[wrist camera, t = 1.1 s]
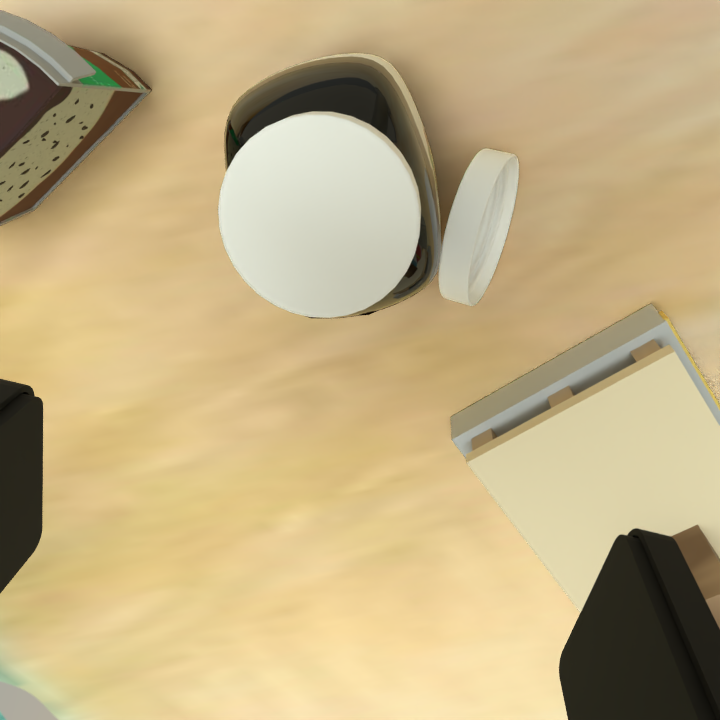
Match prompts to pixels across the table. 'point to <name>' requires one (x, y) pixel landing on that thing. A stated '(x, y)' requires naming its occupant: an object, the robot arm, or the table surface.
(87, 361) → the table surface
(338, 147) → the spread jar
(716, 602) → the block
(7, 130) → the food container
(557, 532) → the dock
